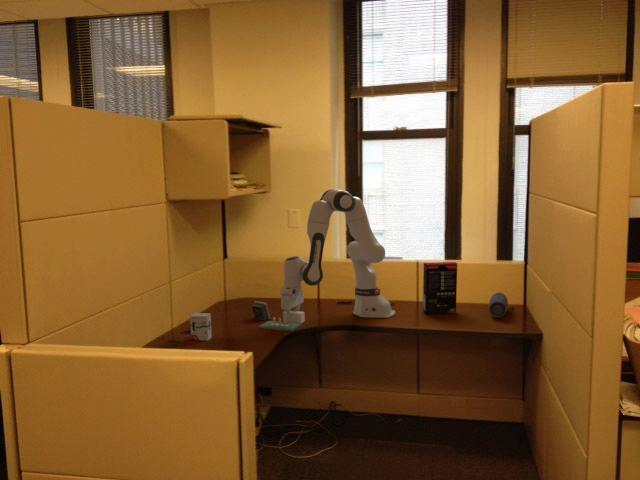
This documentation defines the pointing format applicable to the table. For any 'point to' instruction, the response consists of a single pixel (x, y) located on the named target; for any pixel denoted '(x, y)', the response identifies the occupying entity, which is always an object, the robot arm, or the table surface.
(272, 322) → the header board
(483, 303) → the table surface
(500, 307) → the bluetooth speaker
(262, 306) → the electrical switch
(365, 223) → the robot arm
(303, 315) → the block
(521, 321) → the table surface
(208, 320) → the ink box
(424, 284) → the graphics card box
